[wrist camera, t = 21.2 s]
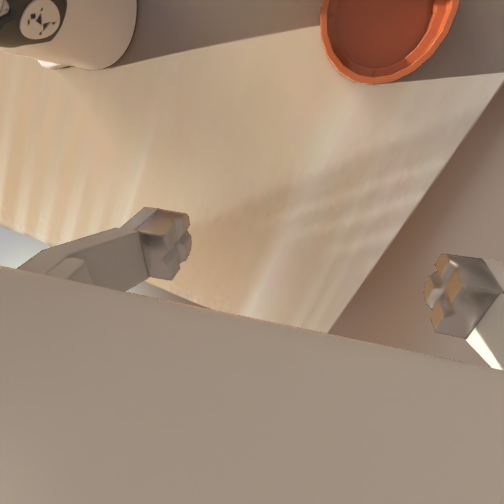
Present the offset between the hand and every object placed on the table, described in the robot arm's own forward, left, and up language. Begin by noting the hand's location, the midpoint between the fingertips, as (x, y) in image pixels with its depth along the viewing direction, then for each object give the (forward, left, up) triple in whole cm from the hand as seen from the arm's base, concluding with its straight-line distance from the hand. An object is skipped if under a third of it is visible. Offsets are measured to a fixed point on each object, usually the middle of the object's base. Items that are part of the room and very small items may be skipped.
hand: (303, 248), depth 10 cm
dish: (-5, +11, -29) cm, 31 cm away
